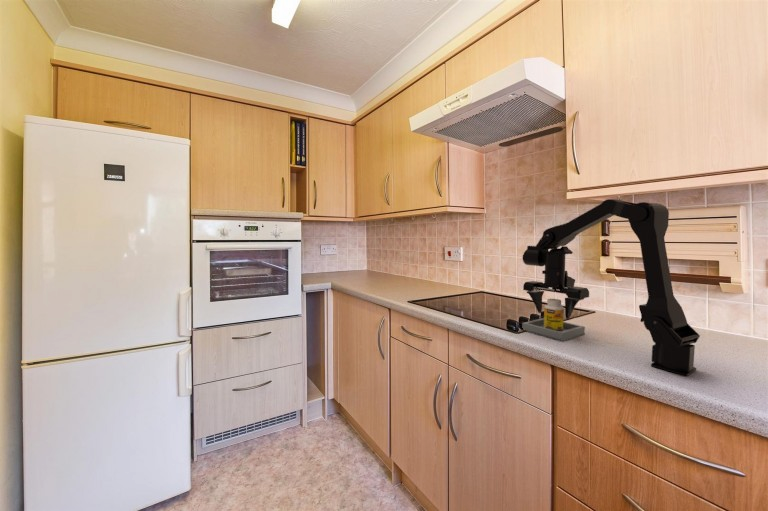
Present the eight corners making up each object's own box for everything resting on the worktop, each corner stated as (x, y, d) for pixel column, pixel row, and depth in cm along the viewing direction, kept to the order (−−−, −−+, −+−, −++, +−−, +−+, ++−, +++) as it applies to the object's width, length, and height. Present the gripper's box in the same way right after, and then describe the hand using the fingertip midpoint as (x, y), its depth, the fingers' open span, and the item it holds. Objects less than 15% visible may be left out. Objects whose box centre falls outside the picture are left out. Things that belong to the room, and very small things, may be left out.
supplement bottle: (543, 331, 101) (544, 300, 101) (544, 327, 106) (544, 297, 105) (563, 334, 99) (564, 302, 98) (563, 329, 103) (564, 299, 103)
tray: (584, 334, 100) (584, 326, 100) (561, 341, 94) (561, 333, 93) (545, 324, 111) (545, 317, 111) (522, 330, 105) (522, 322, 105)
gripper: (599, 268, 97) (597, 318, 98) (542, 264, 113) (541, 307, 114) (580, 270, 92) (578, 323, 93) (522, 265, 108) (521, 311, 109)
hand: (553, 315), depth 102 cm, fingers open, 9 cm apart
